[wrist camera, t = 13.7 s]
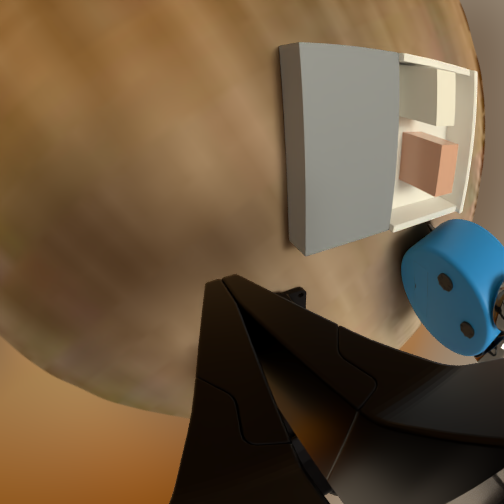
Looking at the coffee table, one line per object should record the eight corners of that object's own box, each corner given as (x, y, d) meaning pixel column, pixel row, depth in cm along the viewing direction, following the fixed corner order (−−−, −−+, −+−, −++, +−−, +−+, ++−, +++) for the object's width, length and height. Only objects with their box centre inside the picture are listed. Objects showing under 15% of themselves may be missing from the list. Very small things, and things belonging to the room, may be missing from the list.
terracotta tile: (398, 179, 24) (416, 176, 25) (434, 197, 21) (451, 192, 22) (402, 131, 22) (420, 131, 23) (441, 145, 19) (458, 144, 20)
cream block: (395, 115, 21) (415, 114, 22) (436, 126, 18) (454, 125, 19) (394, 64, 19) (414, 66, 20) (436, 69, 16) (455, 72, 16)
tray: (437, 198, 29) (462, 212, 26) (369, 217, 26) (397, 235, 23) (447, 66, 21) (477, 71, 18) (374, 52, 18) (409, 53, 16)
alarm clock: (431, 280, 36) (513, 350, 24) (398, 307, 35) (480, 388, 23) (432, 196, 28) (550, 269, 16) (393, 224, 28) (518, 316, 16)
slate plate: (369, 217, 26) (389, 229, 24) (289, 240, 24) (305, 256, 22) (374, 52, 18) (398, 52, 16) (278, 45, 16) (299, 42, 14)
